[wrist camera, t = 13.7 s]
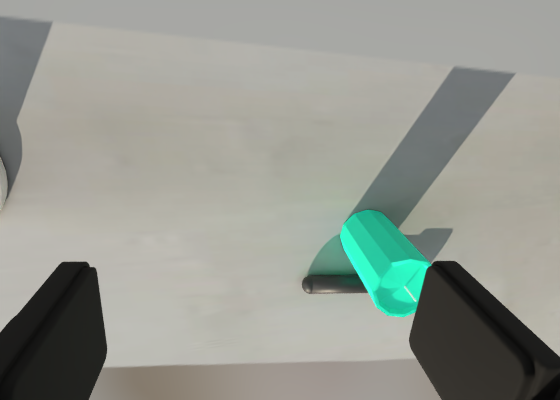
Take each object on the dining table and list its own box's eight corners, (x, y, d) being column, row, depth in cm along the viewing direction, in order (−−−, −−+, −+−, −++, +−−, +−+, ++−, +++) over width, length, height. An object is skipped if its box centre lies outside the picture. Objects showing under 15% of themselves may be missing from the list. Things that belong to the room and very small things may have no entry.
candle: (394, 207, 39) (456, 266, 28) (389, 254, 42) (445, 326, 31) (340, 211, 39) (382, 273, 28) (339, 259, 41) (377, 334, 30)
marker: (299, 287, 42) (303, 300, 40) (301, 271, 41) (305, 282, 39) (412, 286, 44) (421, 298, 42) (416, 270, 43) (425, 281, 41)
